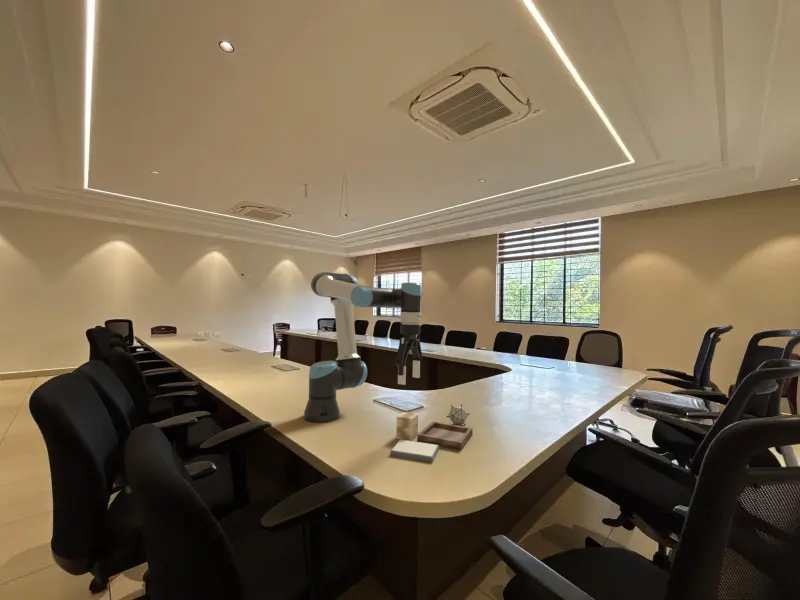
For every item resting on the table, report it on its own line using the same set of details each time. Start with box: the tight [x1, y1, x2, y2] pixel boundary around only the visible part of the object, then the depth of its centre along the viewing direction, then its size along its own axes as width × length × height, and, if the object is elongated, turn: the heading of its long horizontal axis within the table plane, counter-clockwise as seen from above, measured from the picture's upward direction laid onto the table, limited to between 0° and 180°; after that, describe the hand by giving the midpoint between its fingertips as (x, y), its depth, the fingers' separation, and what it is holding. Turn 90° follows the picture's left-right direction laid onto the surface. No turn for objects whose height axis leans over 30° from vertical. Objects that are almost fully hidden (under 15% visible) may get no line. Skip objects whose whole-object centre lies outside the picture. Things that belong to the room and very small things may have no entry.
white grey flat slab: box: [389, 439, 440, 463], centre depth 111 cm, size 14×10×2 cm
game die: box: [446, 404, 471, 426], centre depth 138 cm, size 9×8×10 cm
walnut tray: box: [416, 420, 474, 451], centre depth 124 cm, size 16×16×2 cm
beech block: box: [395, 411, 419, 441], centre depth 124 cm, size 6×6×8 cm
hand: (409, 380), depth 125 cm, fingers open, 13 cm apart
